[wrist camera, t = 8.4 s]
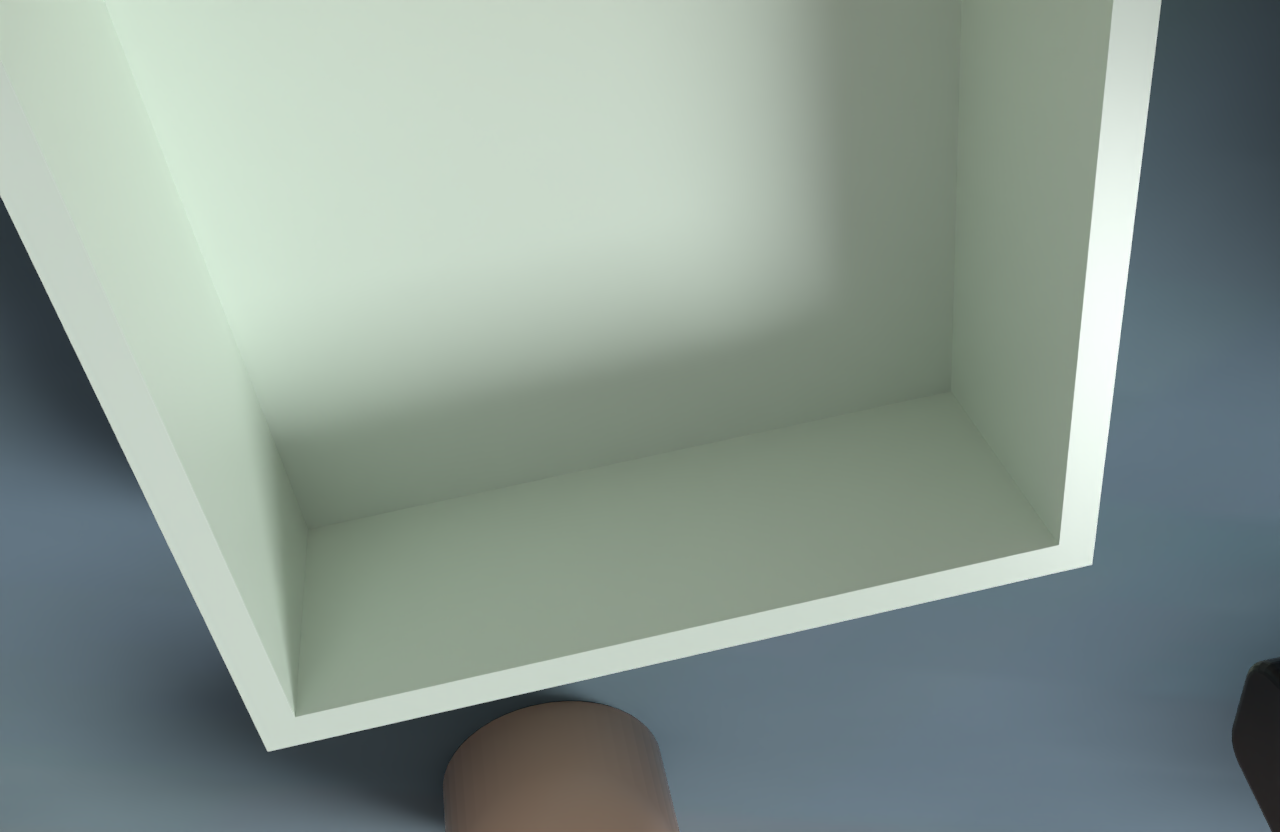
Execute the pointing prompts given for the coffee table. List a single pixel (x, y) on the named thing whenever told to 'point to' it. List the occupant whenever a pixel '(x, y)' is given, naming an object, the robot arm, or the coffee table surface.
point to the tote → (581, 314)
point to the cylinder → (559, 774)
